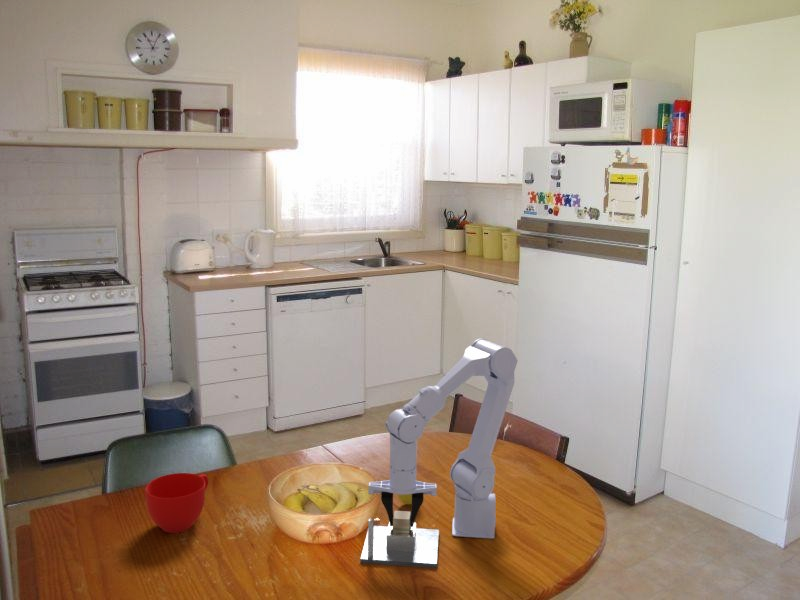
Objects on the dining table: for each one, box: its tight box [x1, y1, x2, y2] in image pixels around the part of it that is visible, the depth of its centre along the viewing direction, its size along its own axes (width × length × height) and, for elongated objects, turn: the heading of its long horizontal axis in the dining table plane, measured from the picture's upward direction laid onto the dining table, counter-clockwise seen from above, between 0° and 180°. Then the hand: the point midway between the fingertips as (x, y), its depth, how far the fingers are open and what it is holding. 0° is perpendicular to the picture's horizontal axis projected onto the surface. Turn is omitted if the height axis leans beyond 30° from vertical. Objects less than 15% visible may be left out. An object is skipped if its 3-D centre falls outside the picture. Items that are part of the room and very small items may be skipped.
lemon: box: [397, 478, 419, 506], centre depth 173 cm, size 6×6×8 cm
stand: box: [359, 517, 440, 569], centre depth 153 cm, size 16×14×9 cm
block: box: [393, 510, 411, 534], centre depth 153 cm, size 4×4×6 cm
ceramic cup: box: [144, 472, 209, 534], centre depth 162 cm, size 13×17×10 cm
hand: (401, 524), depth 153 cm, fingers closed on block, 4 cm apart
